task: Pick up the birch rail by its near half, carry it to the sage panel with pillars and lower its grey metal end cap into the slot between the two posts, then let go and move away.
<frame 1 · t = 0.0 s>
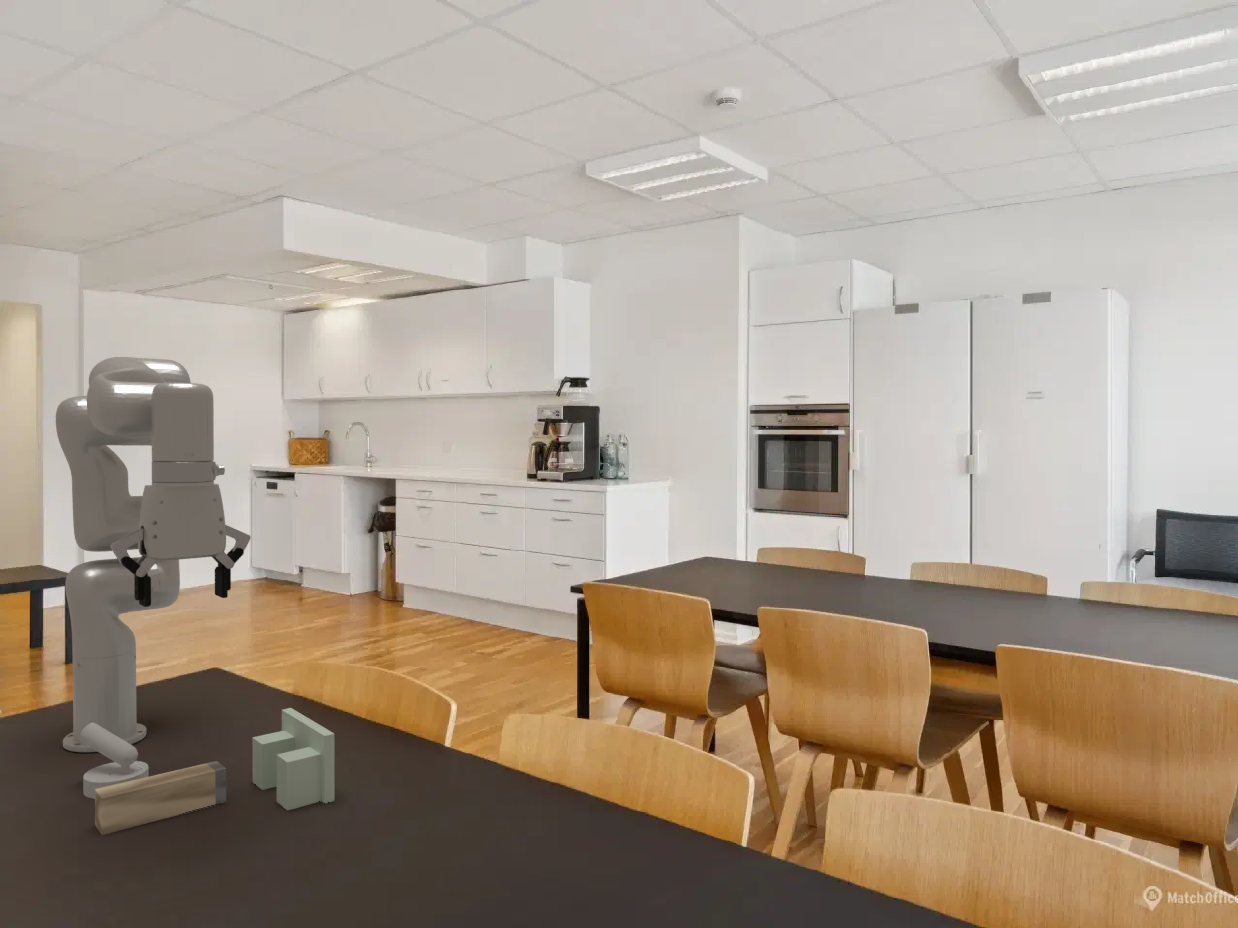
hand: (184, 600, 119), 31 cm above the table, tool pointing down, fingers open, 9 cm apart
sage panel with pillars: (286, 791, 132), on the table
rail: (162, 813, 124), on the table
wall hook: (112, 788, 133), on the table
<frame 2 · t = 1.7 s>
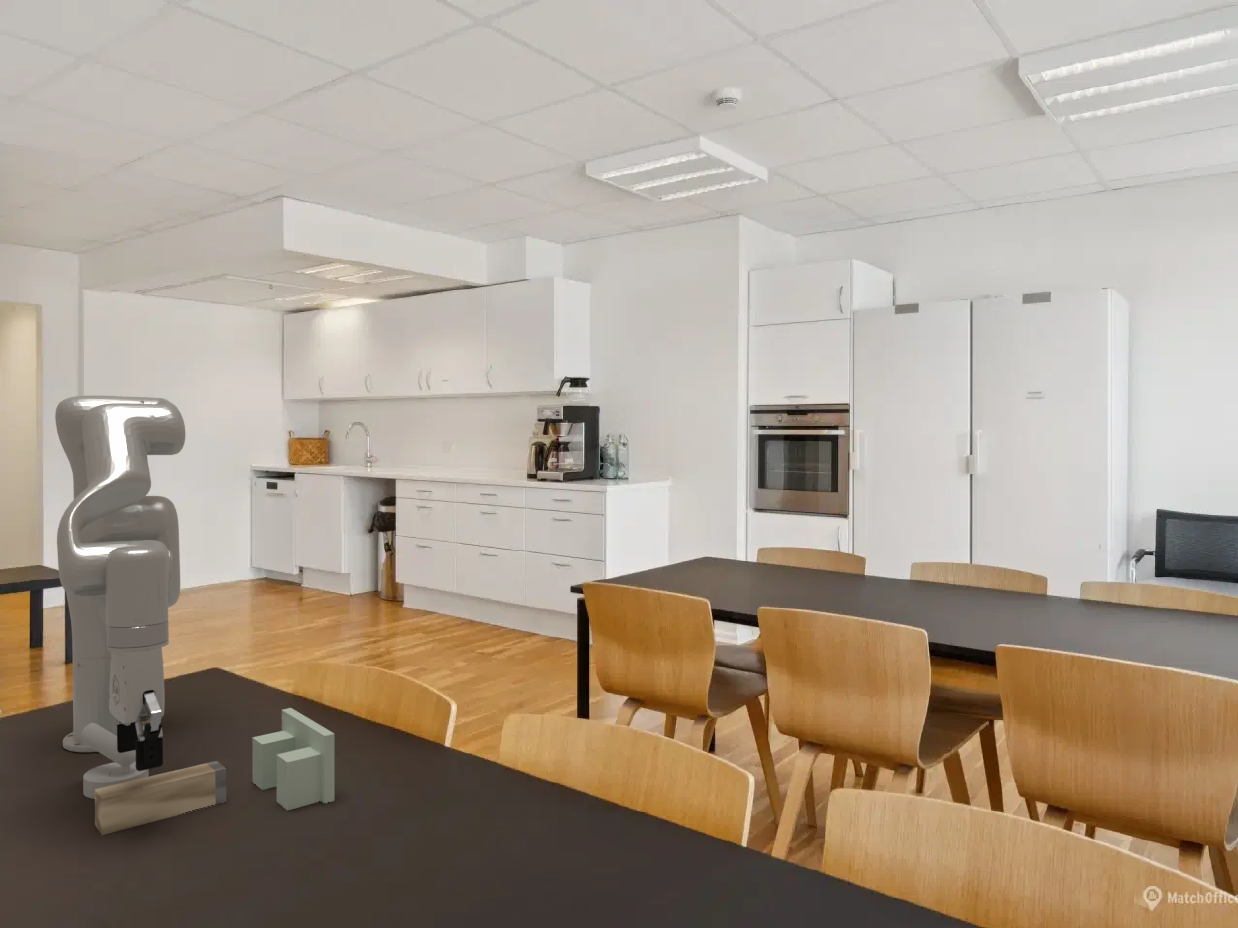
hand: (139, 758, 121), 9 cm above the table, tool pointing down, fingers open, 9 cm apart
nothing on the table moved.
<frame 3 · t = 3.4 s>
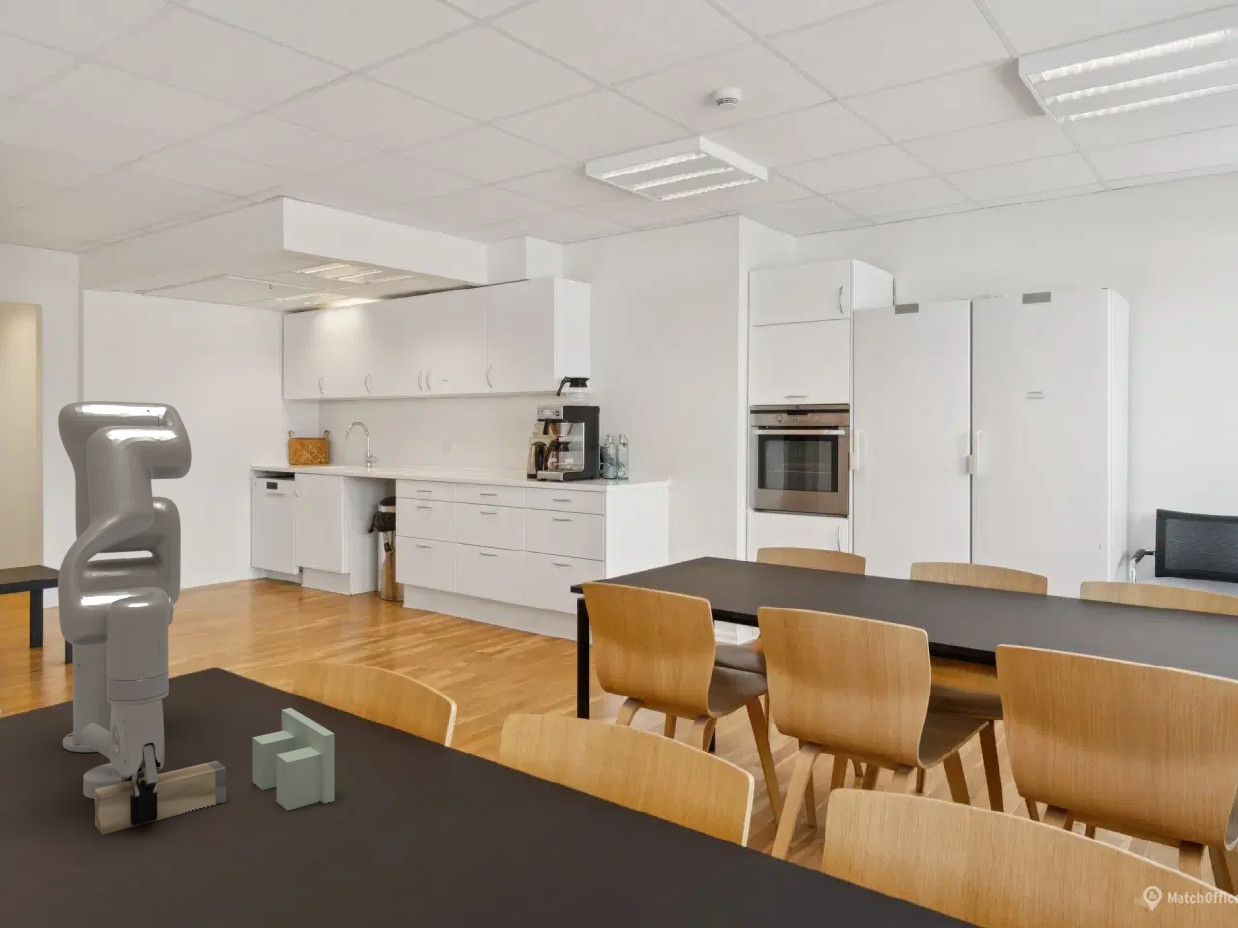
hand: (139, 815, 122), 1 cm above the table, tool pointing down, fingers closed on rail, 4 cm apart
rail: (162, 812, 124), on the table, touching gripper
everything else where it was.
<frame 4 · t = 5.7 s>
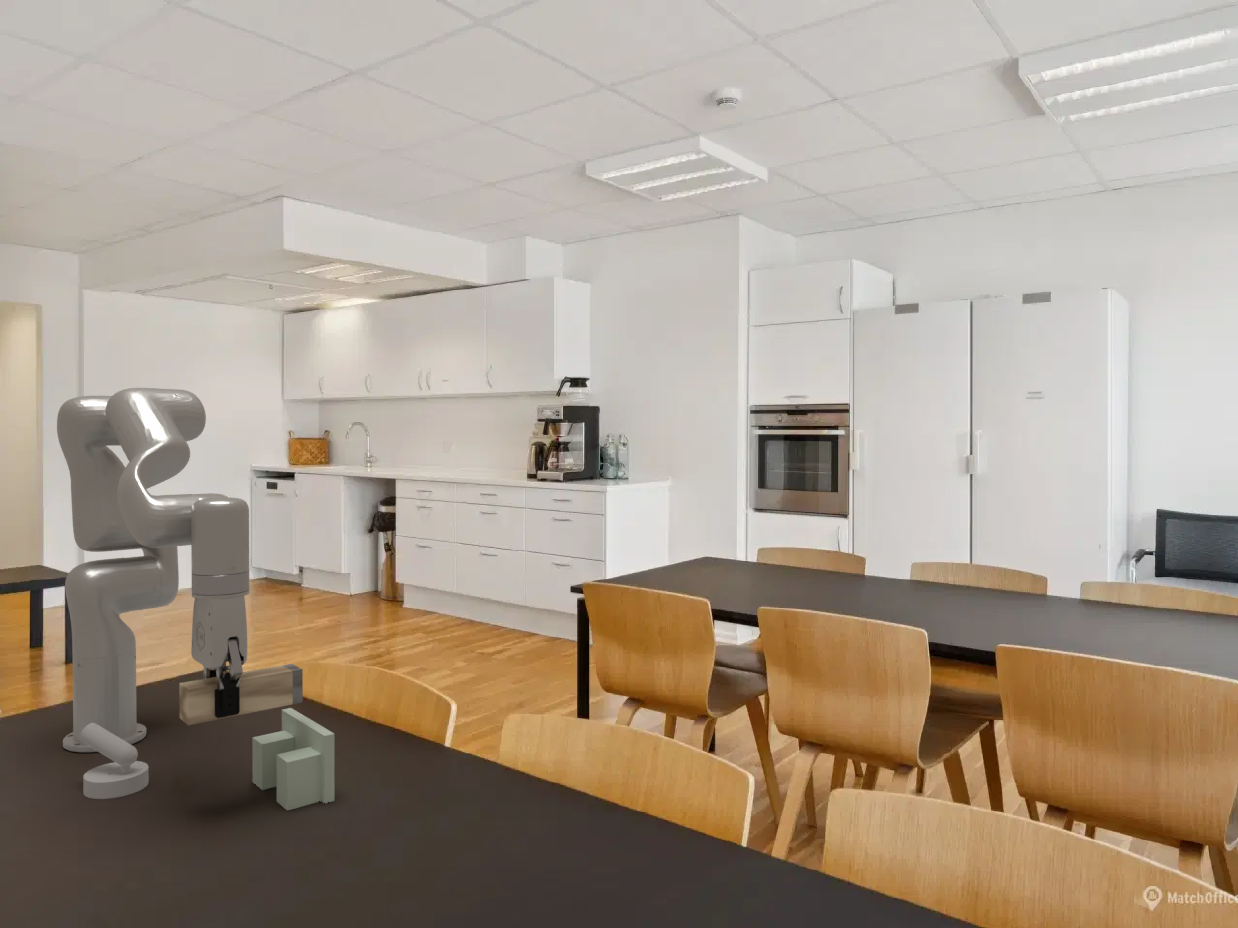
hand: (221, 710, 125), 14 cm above the table, tool pointing down, fingers closed on rail, 4 cm apart
rail: (243, 709, 127), point 14 cm above the table, touching gripper
everything else where it was.
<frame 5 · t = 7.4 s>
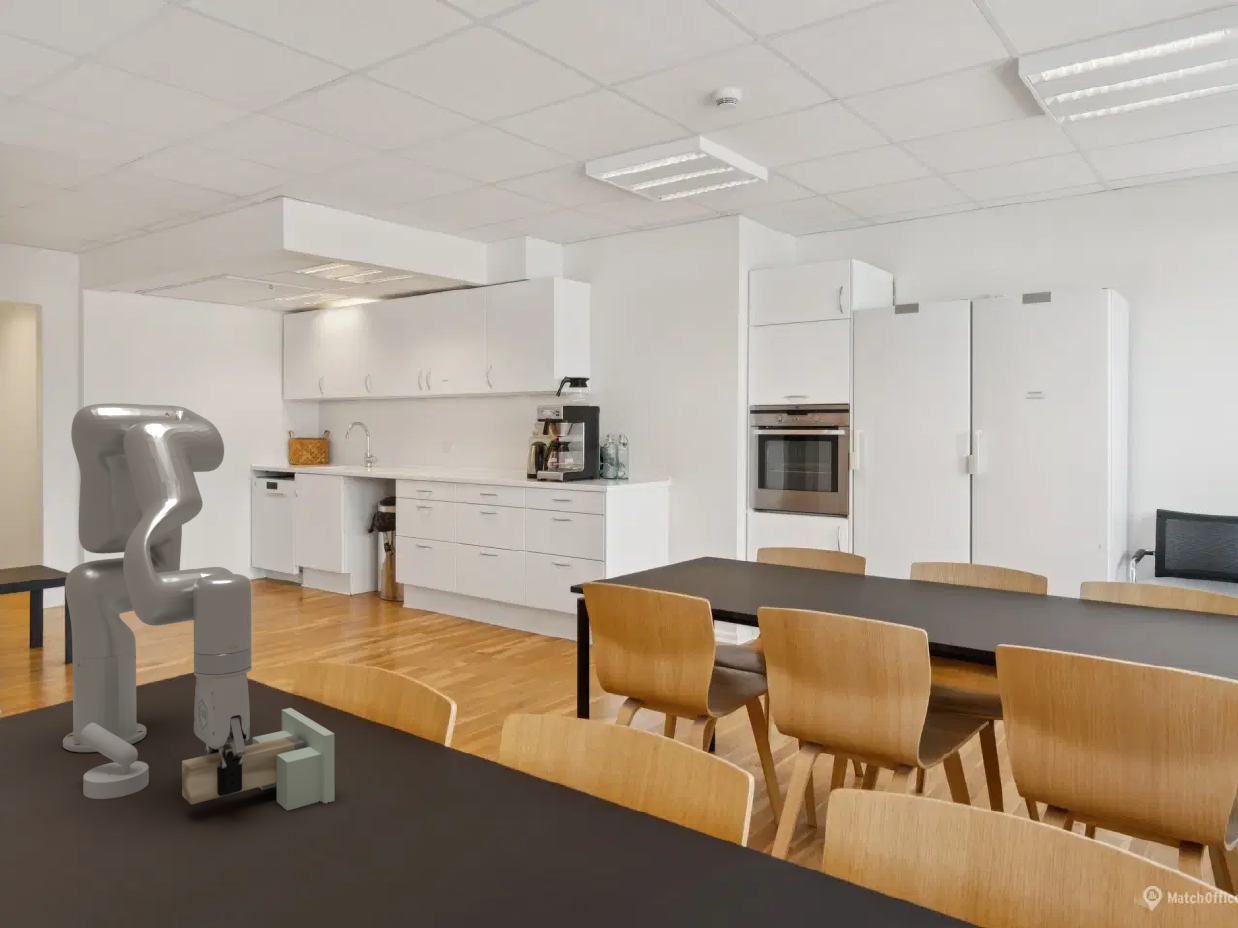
hand: (224, 786, 126), 3 cm above the table, tool pointing down, fingers closed on rail, 4 cm apart
rail: (245, 784, 128), point 3 cm above the table, touching gripper
everything else where it was.
when the fingers open (2 cm above the table, at t = 8.3 s): rail drops 1 cm, on the table.
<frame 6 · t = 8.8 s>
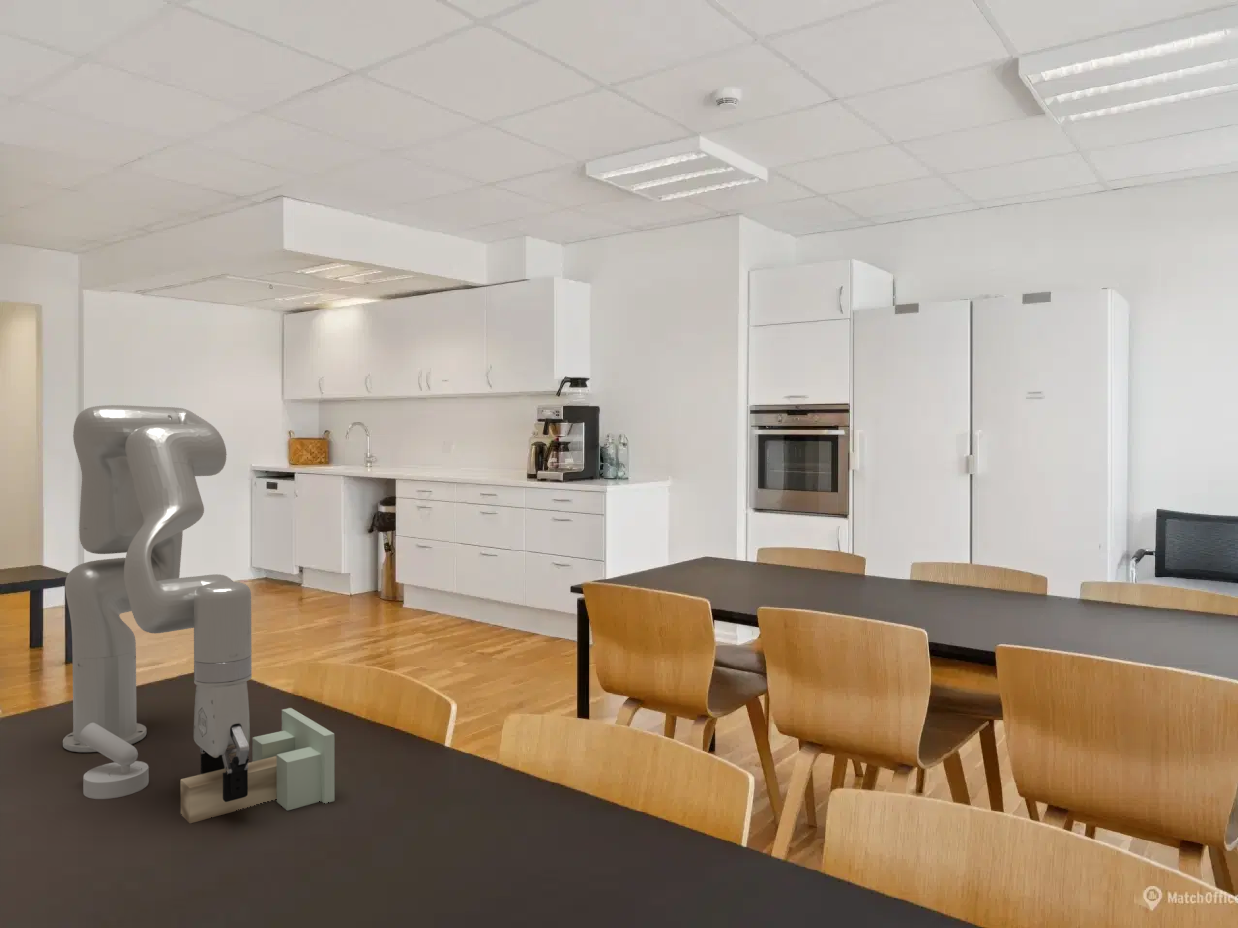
hand: (223, 788, 126), 3 cm above the table, tool pointing down, fingers open, 9 cm apart
rail: (243, 802, 128), on the table
everything else where it was.
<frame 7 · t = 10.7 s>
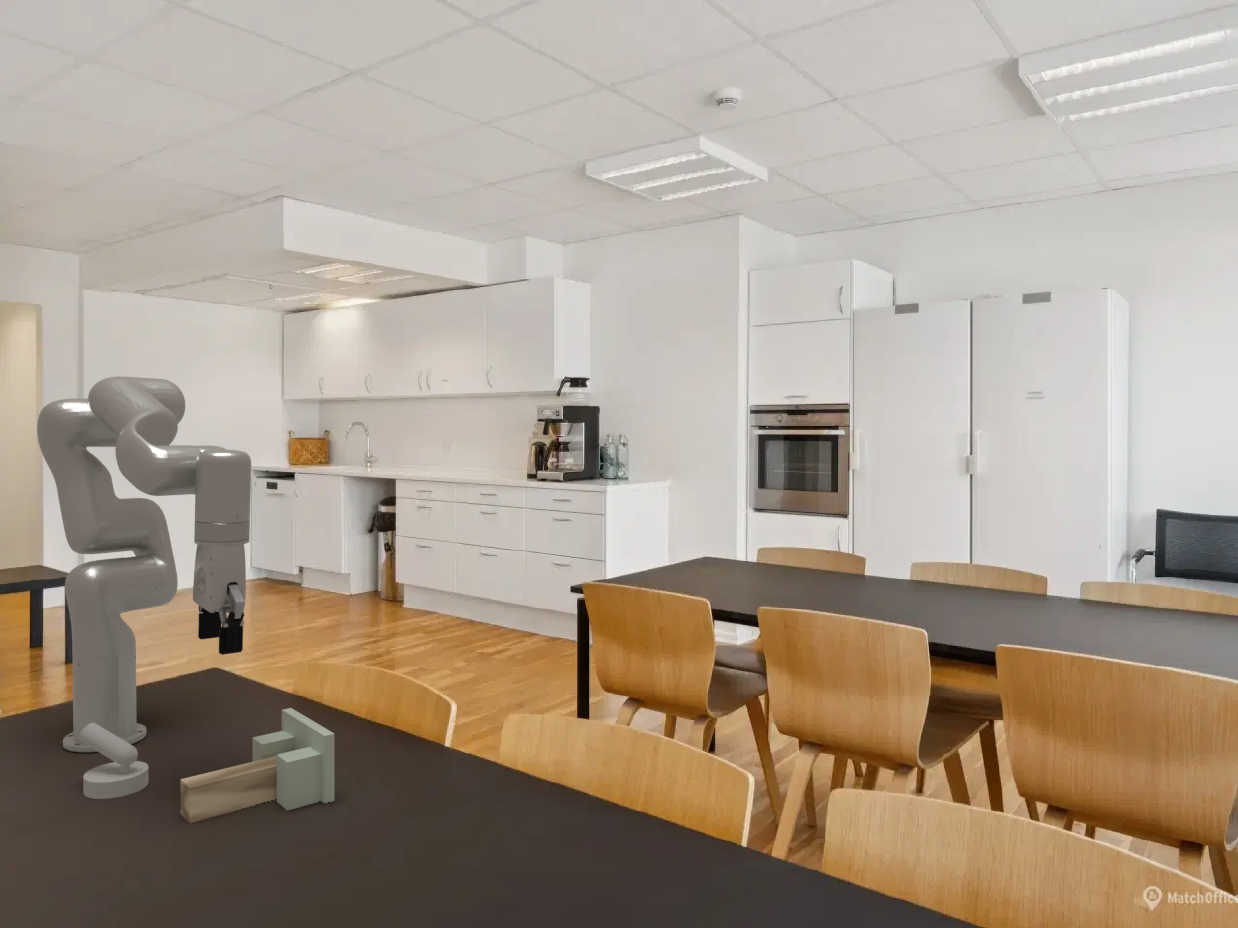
hand: (219, 645, 132), 22 cm above the table, tool pointing down, fingers open, 9 cm apart
nothing on the table moved.
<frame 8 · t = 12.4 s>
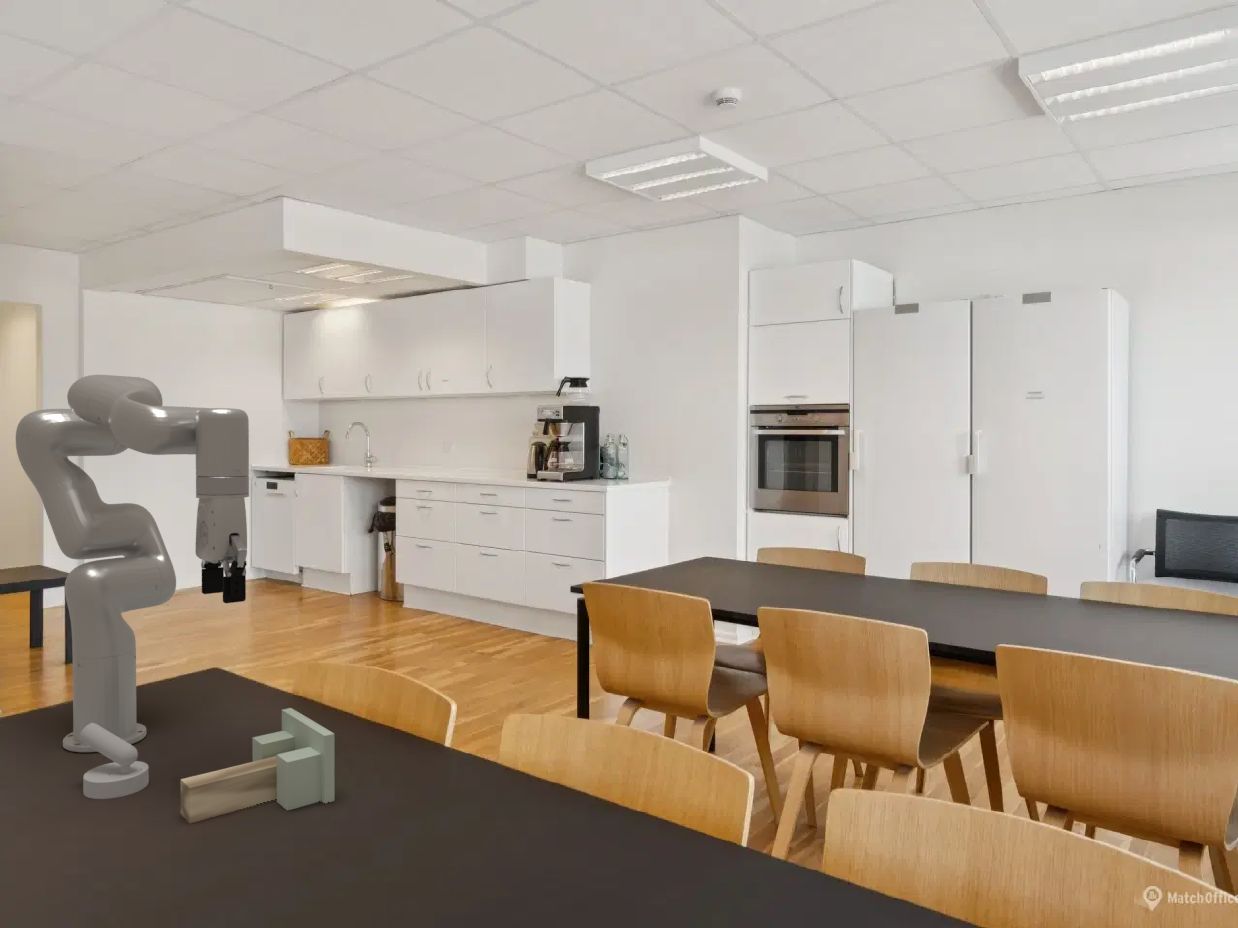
hand: (223, 597, 137), 28 cm above the table, tool pointing down, fingers open, 9 cm apart
nothing on the table moved.
at the end: rail 0.1 cm from the target spot on the table beside the sage panel with pillars, on the table; rail tilted 0°; the gripper is holding nothing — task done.
